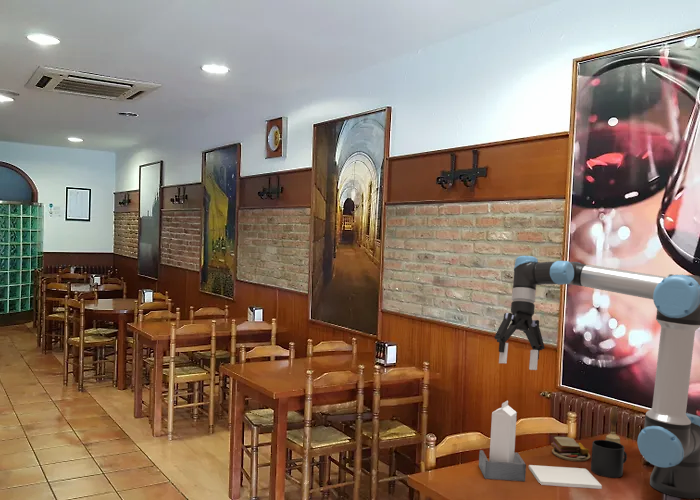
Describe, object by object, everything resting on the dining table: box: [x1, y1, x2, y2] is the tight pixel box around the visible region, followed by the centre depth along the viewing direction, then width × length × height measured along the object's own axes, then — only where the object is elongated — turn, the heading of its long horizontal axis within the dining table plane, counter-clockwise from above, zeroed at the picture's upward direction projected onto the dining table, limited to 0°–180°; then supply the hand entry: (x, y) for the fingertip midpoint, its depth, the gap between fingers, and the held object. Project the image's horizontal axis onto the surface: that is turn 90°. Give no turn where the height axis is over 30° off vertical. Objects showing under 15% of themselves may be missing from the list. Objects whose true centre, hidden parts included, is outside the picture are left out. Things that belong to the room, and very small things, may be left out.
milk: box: [488, 400, 518, 463], centre depth 196 cm, size 6×6×22 cm
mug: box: [590, 439, 628, 479], centre depth 202 cm, size 9×12×9 cm
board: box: [528, 464, 603, 490], centre depth 195 cm, size 18×14×1 cm
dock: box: [478, 449, 527, 482], centre depth 196 cm, size 12×11×5 cm
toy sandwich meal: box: [550, 436, 591, 462], centre depth 217 cm, size 12×14×5 cm
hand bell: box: [605, 405, 621, 444], centre depth 224 cm, size 8×8×16 cm
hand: (518, 366), depth 206 cm, fingers open, 13 cm apart
